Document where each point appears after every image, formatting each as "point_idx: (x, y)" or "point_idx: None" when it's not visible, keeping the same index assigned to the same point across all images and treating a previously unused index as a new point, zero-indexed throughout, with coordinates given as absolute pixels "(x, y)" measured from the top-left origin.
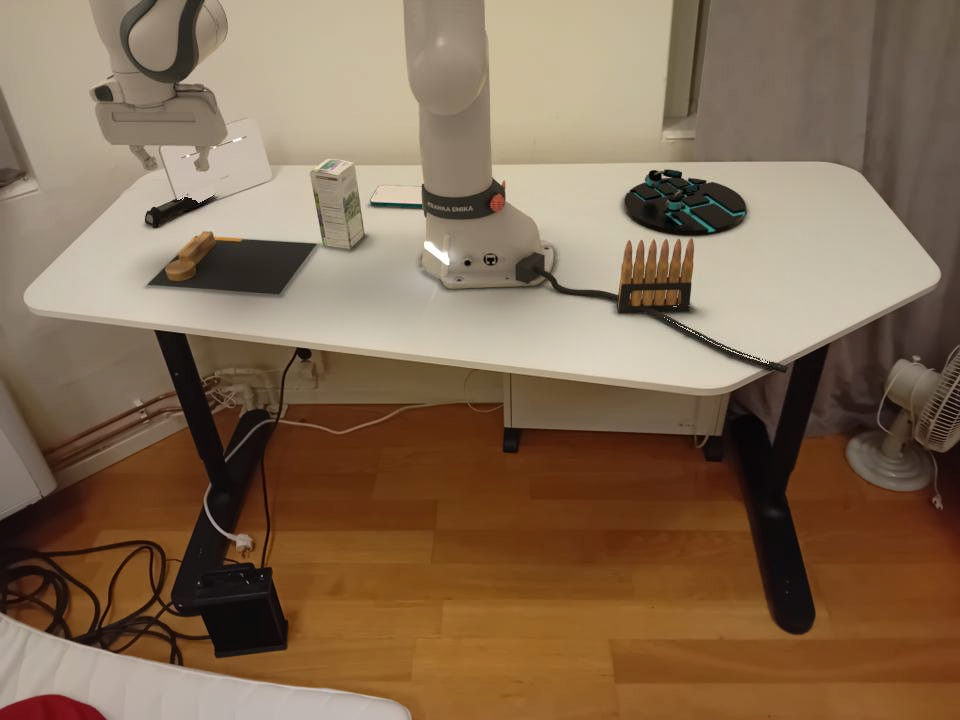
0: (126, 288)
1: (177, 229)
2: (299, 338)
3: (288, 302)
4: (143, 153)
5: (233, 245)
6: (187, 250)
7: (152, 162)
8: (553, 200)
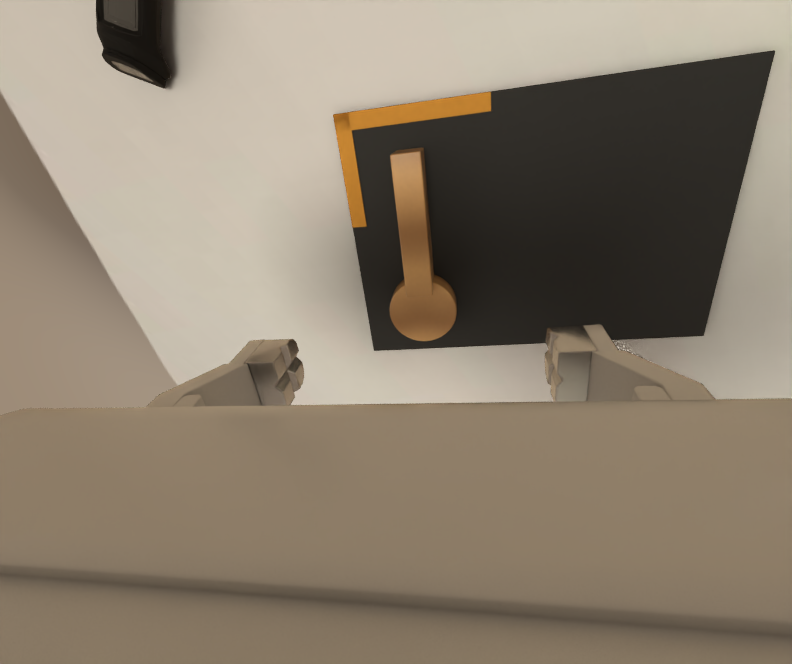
0: (336, 359)
1: (238, 74)
2: None
3: (729, 349)
4: (226, 401)
5: (479, 139)
6: (414, 269)
7: (283, 374)
8: None
